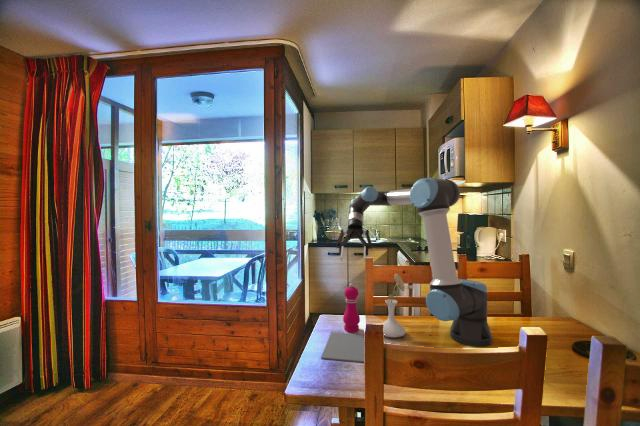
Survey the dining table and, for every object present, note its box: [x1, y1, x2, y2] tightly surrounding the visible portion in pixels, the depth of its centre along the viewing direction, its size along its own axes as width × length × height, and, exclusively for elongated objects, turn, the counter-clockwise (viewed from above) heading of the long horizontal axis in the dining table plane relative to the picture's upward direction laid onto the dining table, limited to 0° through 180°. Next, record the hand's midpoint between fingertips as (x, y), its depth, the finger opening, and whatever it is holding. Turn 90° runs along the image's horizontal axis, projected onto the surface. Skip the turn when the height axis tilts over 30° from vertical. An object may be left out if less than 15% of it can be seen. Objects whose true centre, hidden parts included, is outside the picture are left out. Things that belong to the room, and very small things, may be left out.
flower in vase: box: [381, 273, 407, 338], centre depth 126 cm, size 13×11×25 cm
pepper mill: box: [342, 282, 361, 333], centre depth 131 cm, size 7×7×20 cm
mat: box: [320, 331, 365, 364], centre depth 114 cm, size 22×16×1 cm
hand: (353, 259), depth 139 cm, fingers open, 10 cm apart
